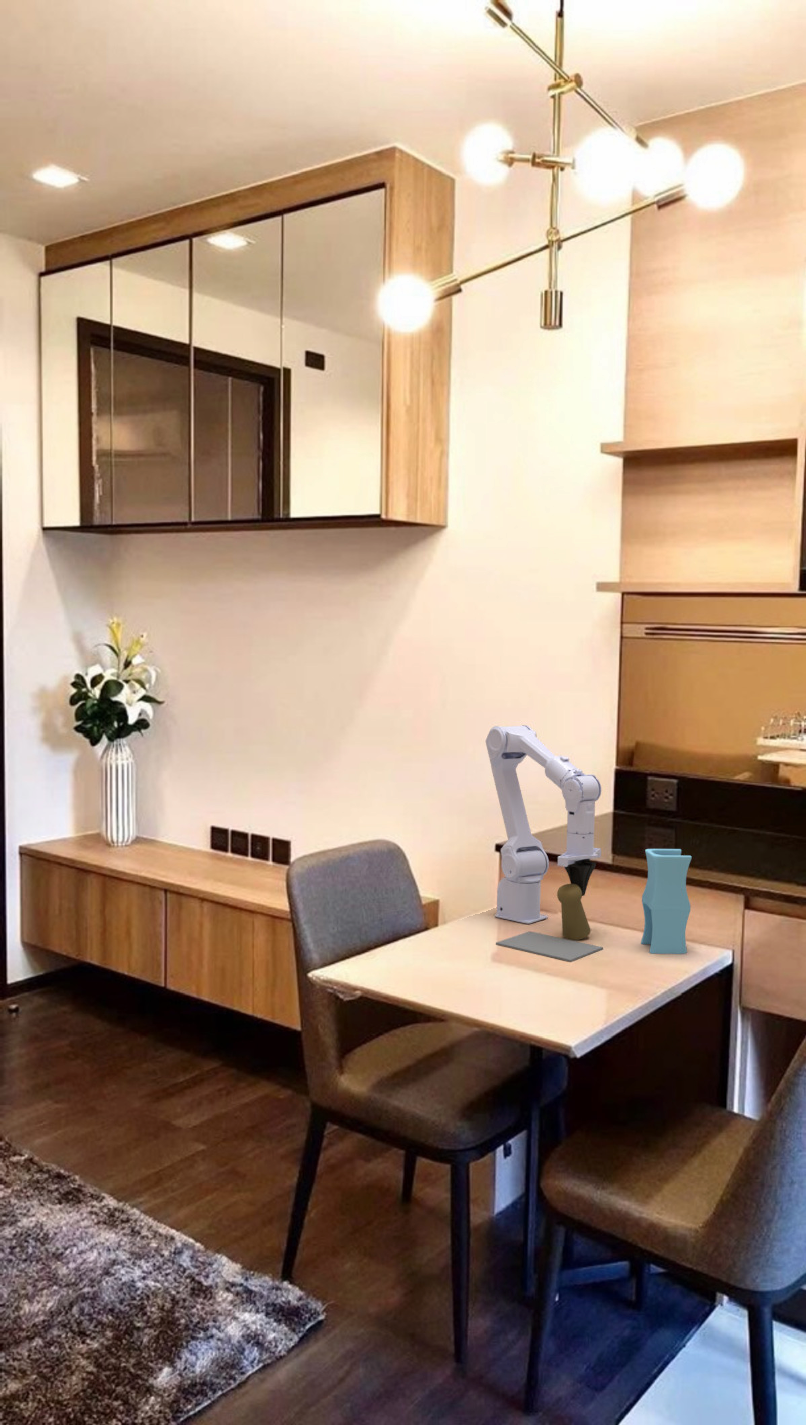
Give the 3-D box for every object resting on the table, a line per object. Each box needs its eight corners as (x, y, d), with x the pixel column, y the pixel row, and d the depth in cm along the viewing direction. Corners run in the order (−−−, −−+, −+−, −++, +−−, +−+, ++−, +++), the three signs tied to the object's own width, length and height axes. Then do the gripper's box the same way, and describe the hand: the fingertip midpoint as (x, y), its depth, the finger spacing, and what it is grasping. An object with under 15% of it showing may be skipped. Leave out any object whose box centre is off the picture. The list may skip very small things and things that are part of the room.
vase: (688, 953, 221) (692, 856, 220) (650, 953, 221) (653, 856, 219) (677, 943, 229) (680, 849, 227) (640, 943, 228) (643, 848, 227)
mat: (495, 944, 225) (495, 942, 225) (529, 933, 235) (529, 931, 235) (570, 962, 214) (570, 960, 214) (602, 949, 223) (603, 947, 223)
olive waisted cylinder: (557, 931, 234) (549, 886, 231) (582, 921, 236) (574, 877, 232) (570, 943, 229) (561, 897, 225) (595, 933, 230) (587, 887, 227)
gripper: (579, 838, 223) (577, 904, 224) (614, 830, 234) (612, 892, 235) (549, 834, 228) (548, 898, 229) (585, 826, 239) (584, 887, 240)
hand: (578, 895), depth 232 cm, fingers closed
